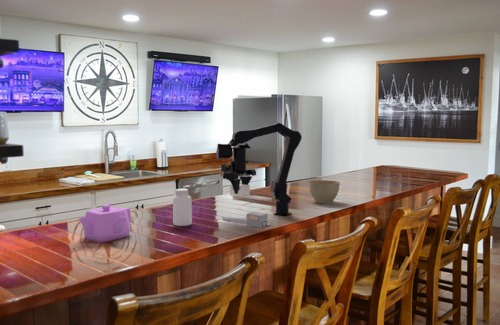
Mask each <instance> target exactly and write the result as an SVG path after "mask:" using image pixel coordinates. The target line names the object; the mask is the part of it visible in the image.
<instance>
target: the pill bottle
mask: <svg viewBox="0 0 500 325" xmlns="http://www.w3.org/2000/svg"><path fill="white" fill-rule="evenodd" d="M192 204H193V203H192V196H190V195H189V189H188V188H176V189H175V195H174V196H173V197H172V223H173V226H177V227H186V226H191V225H192V224H193V205H192Z"/></svg>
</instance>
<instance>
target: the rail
mask: <svg viewBox="0 0 500 325" xmlns="http://www.w3.org/2000/svg"><path fill="white" fill-rule="evenodd" d="M217 222H219V223H227V224H233V225H239V226H246V227H247V226H248V227H253V228H259V226H252V225H247V218H239V217H232V216H226V215H224V216H222V219H220V220H218V221H217ZM268 225H270V223H268V224H267V225H265V222H264V221H263V222H262V226H261V227H260V228H263V227H266V226H268Z"/></svg>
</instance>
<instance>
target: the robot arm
mask: <svg viewBox="0 0 500 325" xmlns="http://www.w3.org/2000/svg"><path fill="white" fill-rule="evenodd" d="M274 133H278V134H279V135H280V136H282V137H283V138H284V152H283V156H282V159H281V164H280V168H279V170H278V174H277V177H276V179H275V181H274V180H271V185H270V187H269V190H270V194H271V196H272V197H273V198H274V200H275V201H276V202H275V212H273V214H274V215H275V216H280V215H283V216H282V217H286V215H287V216H290V215H292V212H290V206H289V204H290V203H291V200H292V197H291V196H289V194H287V191H288V184H287V180H288V176H289V173H290V169H291V166H292V162H293V159H294V155H295V152H296V150H297V148H298V147H299V145H300V143H301V140H302V139H303V138H302V134H301V133H300V132H299V130H293V129H291V128H289V127H288V126H286V125H284V124H283V123H282V122H275V123H273V124H269V125H265V126H260V127H256V128H253V129H240V130H235V131H234V132H233V134H232V136H231V137H232V138H231V139H230V140H229V142H228V143H217V144H216V145H217V146H216V151H215V154H216V159H217V160H226V159H227V160H229V159H231V158H232V157H233V159H232V160H231V161H230V164H227V163H223V164H221V167H220V171H221V172H223V173H222V180H227V181H229V182H230V183H231V184H230V185H232V186H233V189H234V192H235V194H237V193H238V190H239V185H240V184H245V185H250V183H251V180H252V179H253V177H254V176H257V170H256V169H253V168H247V164H248V163H249V160H247V149H251V146H250V145H249V144H248V142H249V141H252V140H253V139H255V138H259V137H263V136H266V135H270V134H274ZM289 214H290V215H289Z"/></svg>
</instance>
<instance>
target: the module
mask: <svg viewBox="0 0 500 325" xmlns="http://www.w3.org/2000/svg"><path fill="white" fill-rule="evenodd" d="M250 186H251V185H250V184H248V185H245V184H242V183H240V185H239V190H238V193H237V194H235V192H234V189H233V186H232V184H230V185H229V195H230V196H232V197H233V196H235V197H241V198H242V197H245V196H250V195H251V192H250V190H251V189H250V188H251V187H250Z"/></svg>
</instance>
